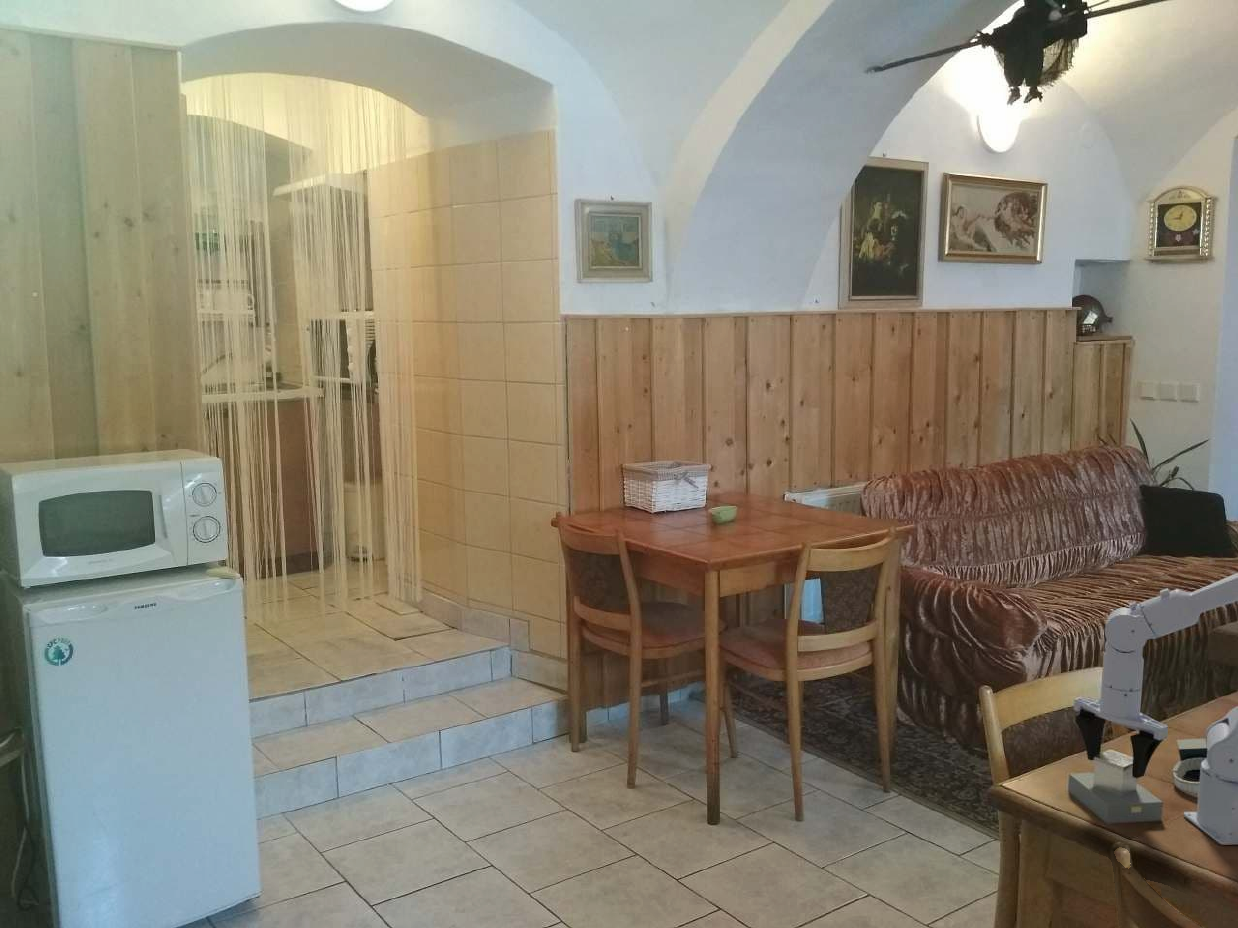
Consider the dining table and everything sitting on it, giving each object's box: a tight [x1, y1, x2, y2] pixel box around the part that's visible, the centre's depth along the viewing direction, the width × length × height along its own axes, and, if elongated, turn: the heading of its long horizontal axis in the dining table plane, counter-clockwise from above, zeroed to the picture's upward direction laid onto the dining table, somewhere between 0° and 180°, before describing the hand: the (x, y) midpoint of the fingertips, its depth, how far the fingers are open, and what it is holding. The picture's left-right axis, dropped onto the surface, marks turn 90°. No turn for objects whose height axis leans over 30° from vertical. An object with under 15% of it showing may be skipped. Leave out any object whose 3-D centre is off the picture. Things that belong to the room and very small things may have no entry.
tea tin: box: [1093, 749, 1138, 797], centre depth 164 cm, size 5×5×5 cm
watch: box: [1171, 738, 1208, 796], centre depth 173 cm, size 6×8×11 cm
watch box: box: [1067, 772, 1164, 824], centre depth 165 cm, size 11×9×4 cm
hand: (1115, 767), depth 164 cm, fingers open, 7 cm apart
